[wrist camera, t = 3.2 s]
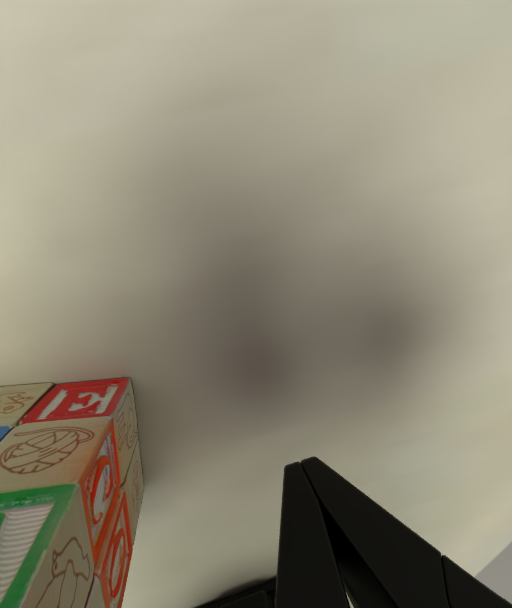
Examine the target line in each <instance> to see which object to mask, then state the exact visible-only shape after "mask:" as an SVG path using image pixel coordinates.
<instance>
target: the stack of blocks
mask: <svg viewBox="0 0 512 608" xmlns="http://www.w3.org/2000/svg"><path fill="white" fill-rule="evenodd" d="M143 492H144V483H143V475H142V467H141V458H140V449H139V441H138V428H137V417H136V409H135V402H134V395H133V389H132V384H131V380H130V378H118V379H108V380H98V381H87V382H75V383H66V384H59V385H54V384H53V383H40V384H27V385H15V386H3V387H0V608H121V606H122V601H123V596H124V592H125V587H126V582H127V577H128V571H129V566H130V561H131V556H132V550H133V549H132V546H133V544H134V539H135V534H136V528H137V523H138V518H139V513H140V508H141V503H142V498H143Z"/></svg>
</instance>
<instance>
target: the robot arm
mask: <svg viewBox="0 0 512 608" xmlns="http://www.w3.org/2000/svg"><path fill="white" fill-rule="evenodd" d="M345 590H346V591H345ZM346 592H347V594H348V597H349V599H350V601H351V603H352V605H353V607H354V608H512V604H511V603H509V602H508V601H506V600H505V599H503V598H502V597H501V596H499V595H497V594H496V593H495V592H493V591H492V590H490V589H489V588H488V587H486V586H485V585H484V584H482V583H481V582H480V581H478V580H477V579H476V578H474V577H473V576H472V575H470V574H469V573H467V572H466V571H465V570H463V569H462V568H461V567H459V566H458V565H457V564H456V563H454V562H453V561H452V560H450V559H449V558H448V557H447V556H445V555H442V556H441V553H440V551H438V550H437V549H436V548H435V547H433V546H432V545H431V544H429V543H428V542H427V541H425V540H424V539H423V538H421V537H420V536H419V535H418V534H416V533H415V532H414V531H412V530H411V529H410V528H408V527H407V526H406V525H404V524H403V523H402V522H401V521H399V520H398V519H397V518H395V517H394V516H393V515H391V514H390V513H389V512H387V511H386V510H385V509H384V508H382V507H381V506H380V505H378V504H377V503H376V502H374V501H373V500H372V499H370V498H369V497H368V496H367V495H365V494H364V493H363V492H361V491H360V490H359V489H357V488H356V487H355V486H354V485H352V484H351V483H350V482H348V481H347V480H346V479H344V478H343V477H342V476H340V475H339V474H338V473H337V472H335V471H334V470H333V469H331V468H330V467H329V466H327V465H326V464H325V463H323V462H322V461H321V460H320V459H318V458H317V457H314V456H313V457H310V458H307V459H304V460H302V461H301V463H299V462H295V463H292V464H289V465H286V466H285V468H284V478H283V493H282V508H281V522H280V537H279V552H278V566H277V580H275V581H272V582H270V583H267V584H264V585H262V586H259V587H257V588H254V589H251V590H249V591H246V592H243V593H241V594H238V595H236V596H233V597H230V598H228V599H225V600H223V601H220V602H217V603H215V604H212V605H210V606H207V607H204V608H350V605H349V602H348V598H347V595H346Z"/></svg>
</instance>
